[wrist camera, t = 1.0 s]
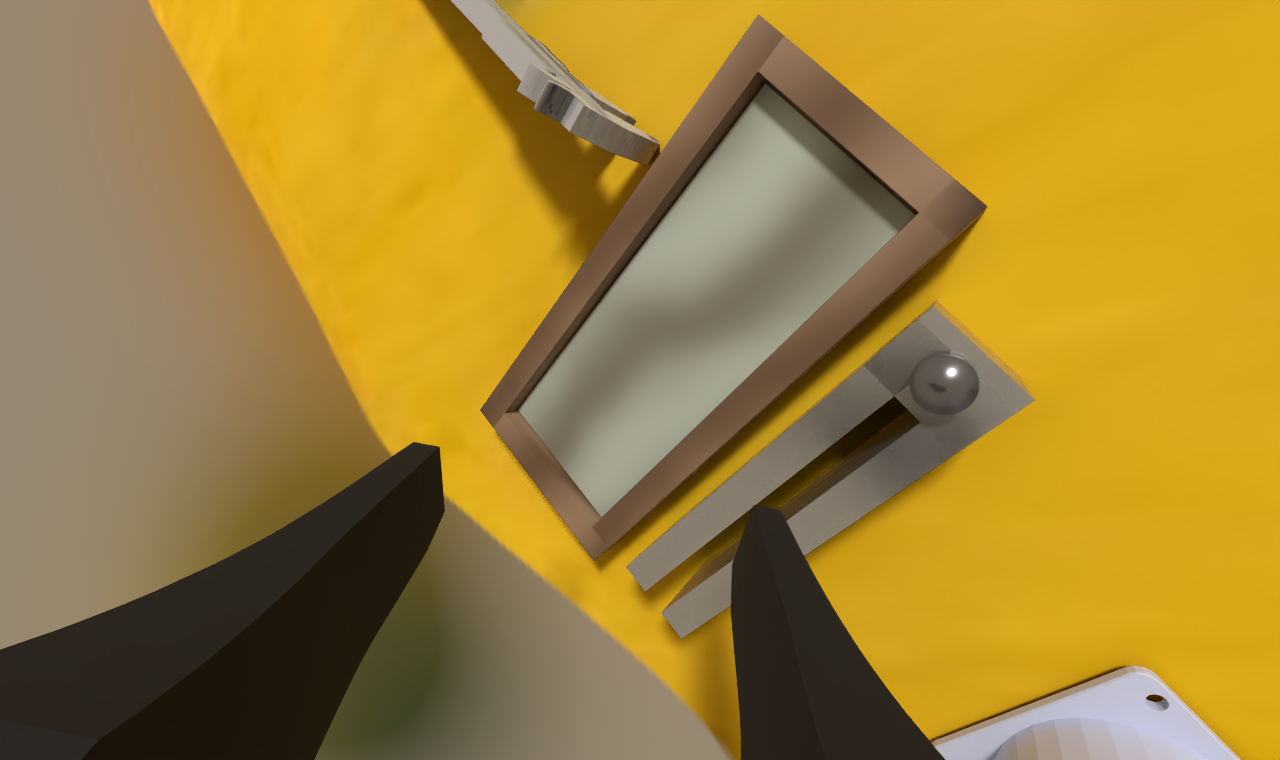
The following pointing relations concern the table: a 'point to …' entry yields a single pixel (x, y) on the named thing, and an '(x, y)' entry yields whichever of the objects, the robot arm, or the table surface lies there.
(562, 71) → the caliper
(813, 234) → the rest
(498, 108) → the table surface
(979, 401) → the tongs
